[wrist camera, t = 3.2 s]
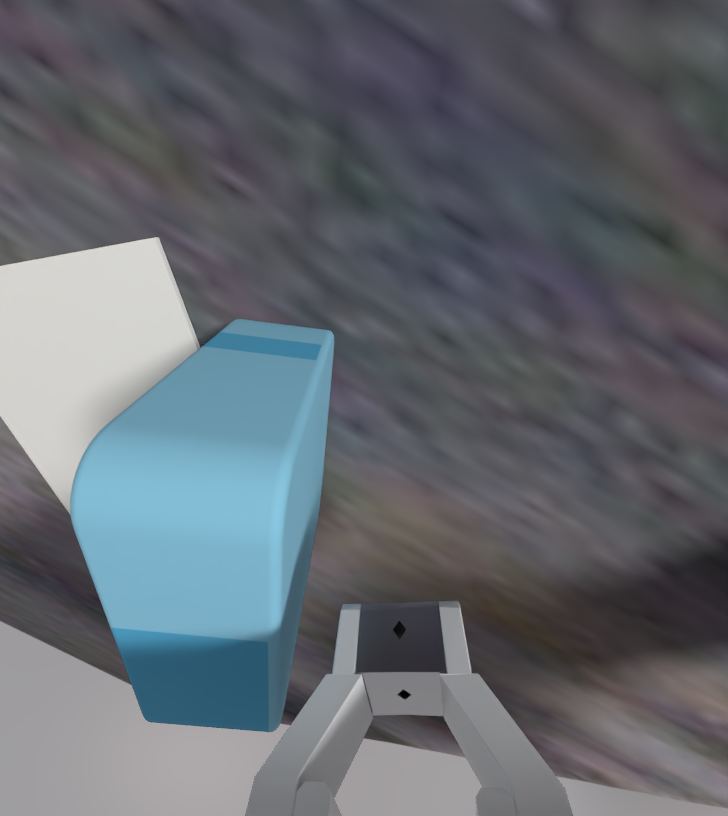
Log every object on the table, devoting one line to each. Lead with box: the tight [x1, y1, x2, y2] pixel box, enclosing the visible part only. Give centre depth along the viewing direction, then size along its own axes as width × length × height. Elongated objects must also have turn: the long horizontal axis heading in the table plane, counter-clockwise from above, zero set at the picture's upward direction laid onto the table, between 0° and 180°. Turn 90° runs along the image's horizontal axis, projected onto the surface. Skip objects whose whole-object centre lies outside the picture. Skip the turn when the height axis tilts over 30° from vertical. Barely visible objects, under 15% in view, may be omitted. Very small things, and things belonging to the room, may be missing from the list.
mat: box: [0, 237, 200, 515], centre depth 22 cm, size 14×22×1 cm, turn 9°
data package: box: [70, 319, 334, 732], centre depth 15 cm, size 12×4×12 cm, turn 173°
